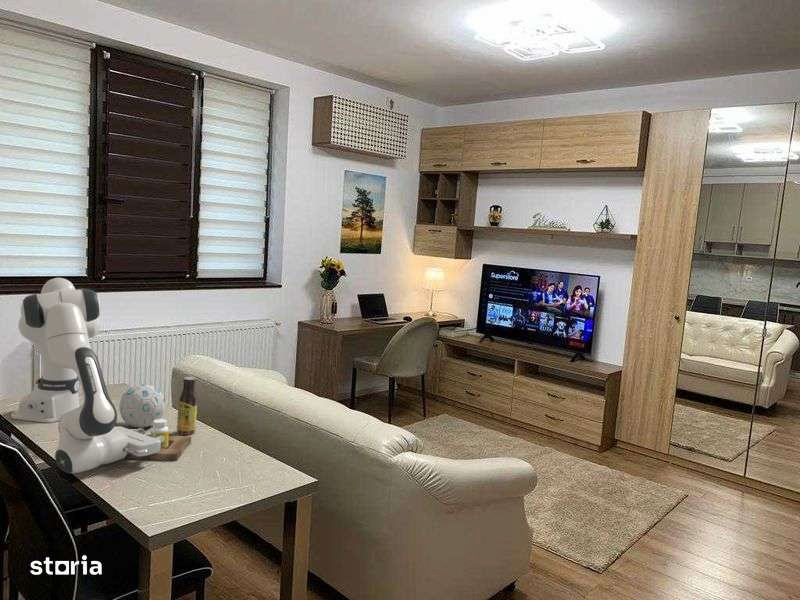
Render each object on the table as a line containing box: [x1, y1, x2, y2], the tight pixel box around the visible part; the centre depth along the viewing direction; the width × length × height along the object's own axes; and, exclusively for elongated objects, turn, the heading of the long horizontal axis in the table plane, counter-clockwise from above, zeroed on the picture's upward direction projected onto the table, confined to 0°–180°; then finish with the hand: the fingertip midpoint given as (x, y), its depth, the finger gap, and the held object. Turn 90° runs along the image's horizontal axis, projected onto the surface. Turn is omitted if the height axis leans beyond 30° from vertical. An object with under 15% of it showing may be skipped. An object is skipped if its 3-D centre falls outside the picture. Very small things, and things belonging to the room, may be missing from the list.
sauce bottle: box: [176, 376, 198, 436], centre depth 213 cm, size 7×6×20 cm
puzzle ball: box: [118, 384, 166, 429], centre depth 217 cm, size 15×15×15 cm
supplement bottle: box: [150, 418, 170, 449], centre depth 197 cm, size 5×5×10 cm
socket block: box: [124, 434, 192, 461], centre depth 197 cm, size 16×16×2 cm
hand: (153, 434), depth 194 cm, fingers open, 8 cm apart
